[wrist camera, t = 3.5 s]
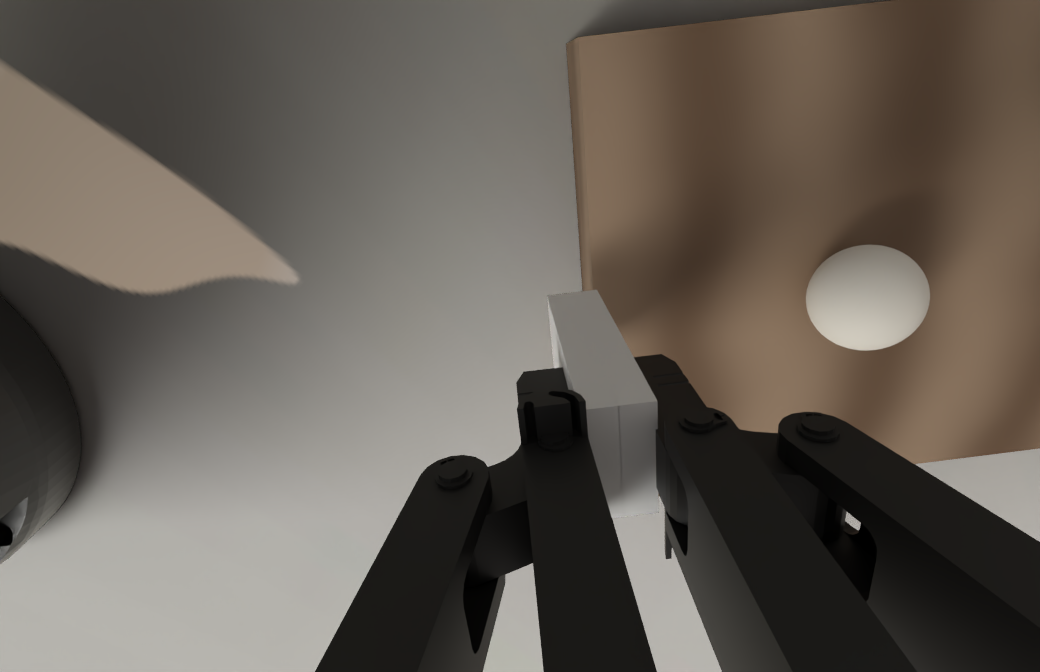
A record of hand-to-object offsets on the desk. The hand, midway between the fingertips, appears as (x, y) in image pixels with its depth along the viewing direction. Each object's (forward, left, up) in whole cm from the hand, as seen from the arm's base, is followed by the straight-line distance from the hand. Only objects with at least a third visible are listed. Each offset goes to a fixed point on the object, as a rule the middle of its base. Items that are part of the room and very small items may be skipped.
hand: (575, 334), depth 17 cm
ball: (+9, 0, 0) cm, 9 cm away
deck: (+15, 0, -4) cm, 15 cm away
